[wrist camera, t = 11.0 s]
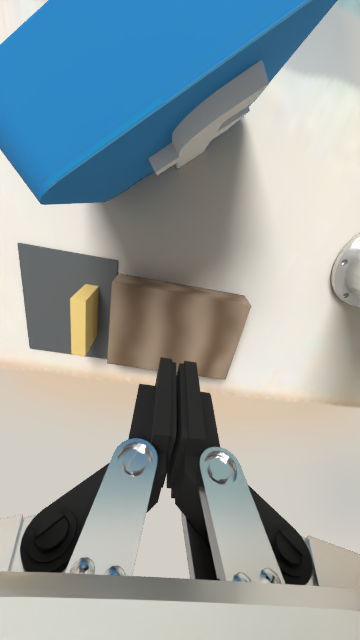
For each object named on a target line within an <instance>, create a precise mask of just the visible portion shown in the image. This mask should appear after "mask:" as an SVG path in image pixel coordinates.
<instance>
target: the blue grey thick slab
mask: <svg viewBox="0 0 360 640" xmlns="http://www.w3.org/2000/svg"><path fill="white" fill-rule="evenodd" d="M336 1H337V0H48V1H47V2H46V3H45V4H44V5H43V6H42V7H41V8H40V9H39V10H38V11H36V12H35V13H34V14H33V15H32V16H31V17H30V18H29V19H28V20H27V21H26V22H25V23H23V24H22V25H21V26H20V27H19V28H18V29H17V30H16V31H15V32H14V33H13V34H11V35H10V36H9V37H8V38H7V39H6V40H5V41H4V42H3V43H2V44H1V45H0V149H1V151H2V152H3V153H4V155H5V156H6V157H7V159H8V160H9V161H10V163H11V164H12V166H13V167H14V168H15V170H16V171H17V172H18V174H19V175H20V176H21V178H22V179H23V180H24V182H25V183H26V184H27V186H28V187H29V189H30V190H31V191H32V193H33V194H34V195H35V197H36V198H37V199H38V201H39V202H40V203H41V204H43V205H47V204H71V203H94V202H105V201H108V200H110V199H112V198H113V197H115V196H117V195H119V194H120V193H122V192H123V191H125V190H126V189H128V188H129V187H131V186H132V185H134V184H135V183H137V182H138V181H140V180H142V179H143V178H145V177H146V176H148V175H149V174H151V173H152V172H154V171H155V173H156V174H157V175H159V174H160V173H162V172H164V171H165V170H167V169H168V168H170V167H171V166H173V165H174V164H175V166H176V168H177V169H179V168H180V167H182V166H183V165H185V164H186V163H188V162H189V161H191V160H192V159H194V158H196V157H197V156H199V155H200V154H202V153H203V152H204V151H205V149H206V148H207V146H208V145H209V143H210V142H211V140H213V139H214V138H216V137H217V136H219V135H220V134H222V133H223V132H225V131H226V130H228V129H229V128H230V127H232V126H233V125H234V124H235V123H236V122H237V121H238V120H240V119H241V118H242V117H243V116H244V115H245V114H246V113H248V112H249V111H250V110H249V106H250V105H251V104H252V103H253V102H254V101H255V100H256V99H257V98H258V96H259V95H260V94H261V93H262V92H263V90H264V89H265V88H266V87H267V86H268V84H269V82H270V81H271V80H272V79H273V78H274V76H275V75H276V74H277V73H278V71H279V70H280V69H281V68H282V67H283V65H284V64H285V63H286V62H287V61H288V59H289V58H290V57H291V55H292V54H293V53H294V52H295V51H296V50H297V48H298V47H299V46H300V45H301V44H302V42H303V41H304V40H305V39H306V38H307V36H308V35H309V34H310V33H311V31H312V30H313V29H314V28H315V26H316V25H317V24H318V23H319V22H320V21H321V19H322V18H323V17H324V16H325V15H326V13H327V12H328V11H329V10H330V9H331V7H332V6H333V5H334V4H335V3H336Z"/></svg>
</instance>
